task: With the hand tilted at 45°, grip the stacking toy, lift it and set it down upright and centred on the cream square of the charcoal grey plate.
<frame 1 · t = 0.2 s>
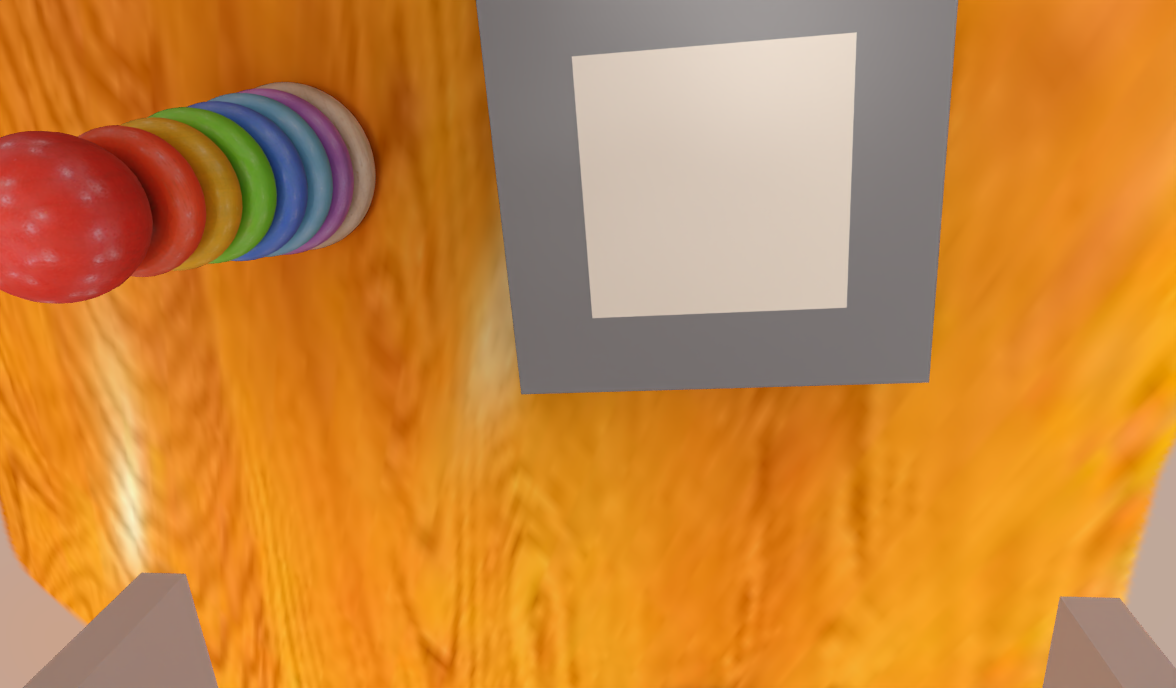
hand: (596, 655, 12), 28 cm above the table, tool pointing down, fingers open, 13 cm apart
stacking toy: (306, 165, 39), on the table
plate: (712, 181, 36), on the table
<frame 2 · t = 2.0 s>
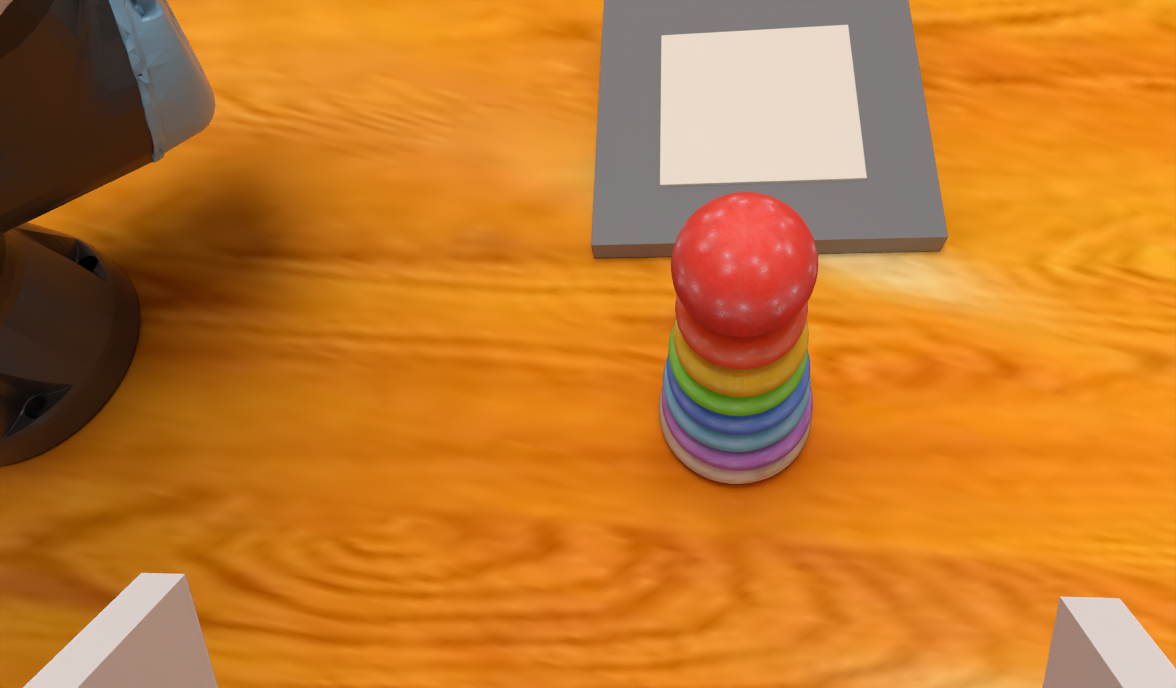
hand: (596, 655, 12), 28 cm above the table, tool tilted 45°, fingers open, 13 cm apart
stacking toy: (732, 416, 42), on the table
plate: (755, 120, 50), on the table
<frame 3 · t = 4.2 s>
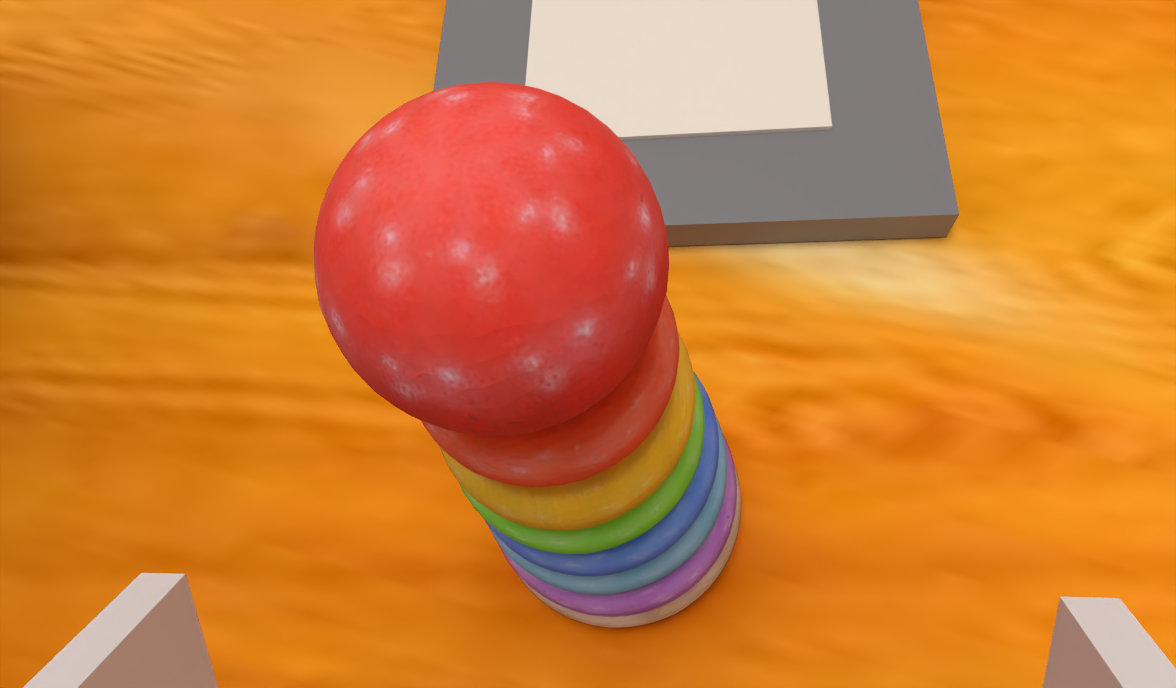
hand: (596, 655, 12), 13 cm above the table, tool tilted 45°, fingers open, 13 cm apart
stacking toy: (619, 505, 26), on the table
plate: (671, 49, 34), on the table
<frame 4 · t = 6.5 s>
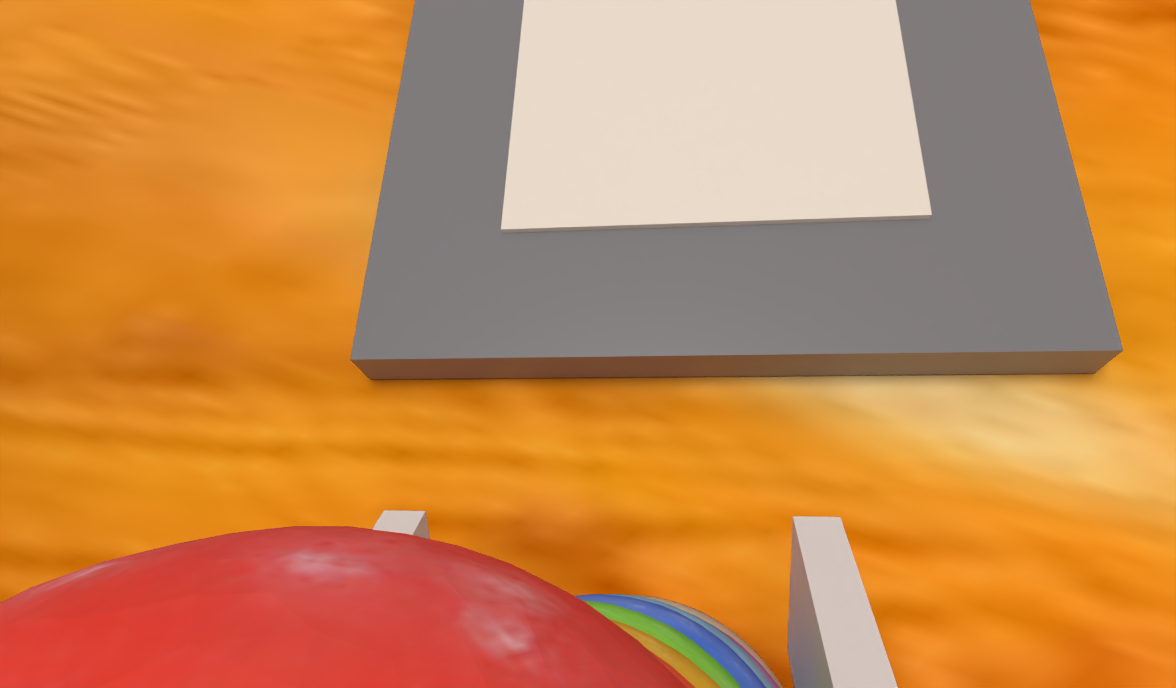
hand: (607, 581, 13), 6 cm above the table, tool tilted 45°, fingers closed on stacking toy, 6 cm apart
plate: (703, 98, 26), on the table
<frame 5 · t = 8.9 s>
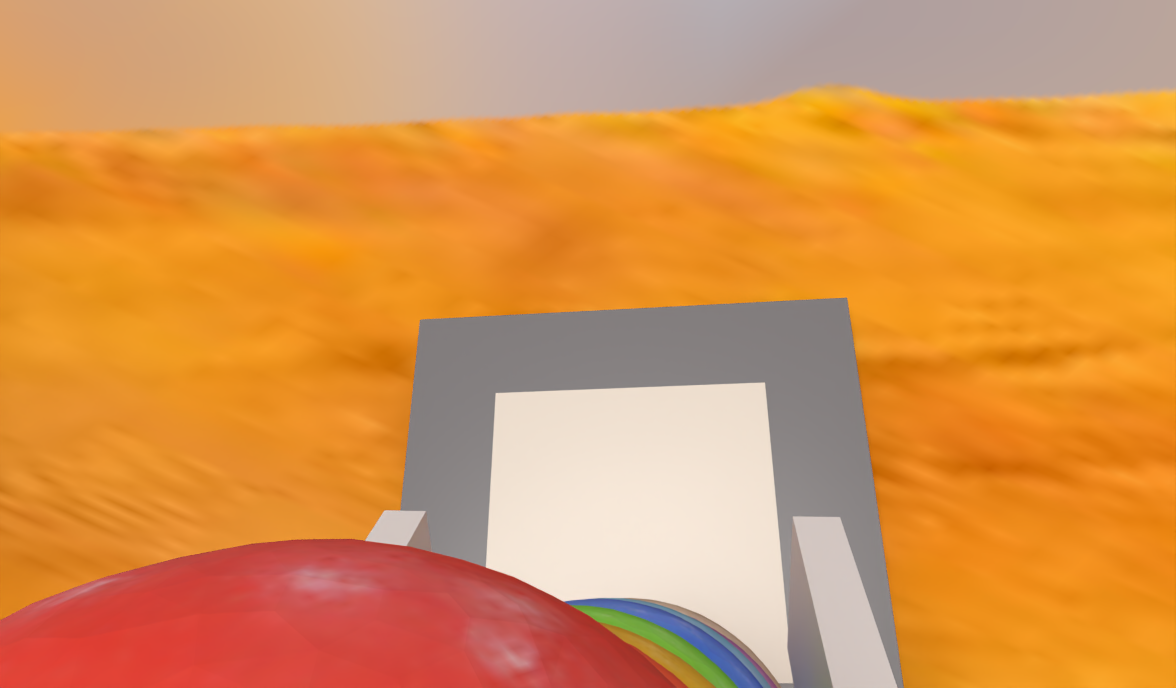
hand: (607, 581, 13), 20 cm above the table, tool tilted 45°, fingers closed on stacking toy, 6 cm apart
plate: (632, 531, 33), on the table
when the fingers open (9 cm above the table, at t = 11.8 s): stacking toy drops 1 cm, resting on plate.
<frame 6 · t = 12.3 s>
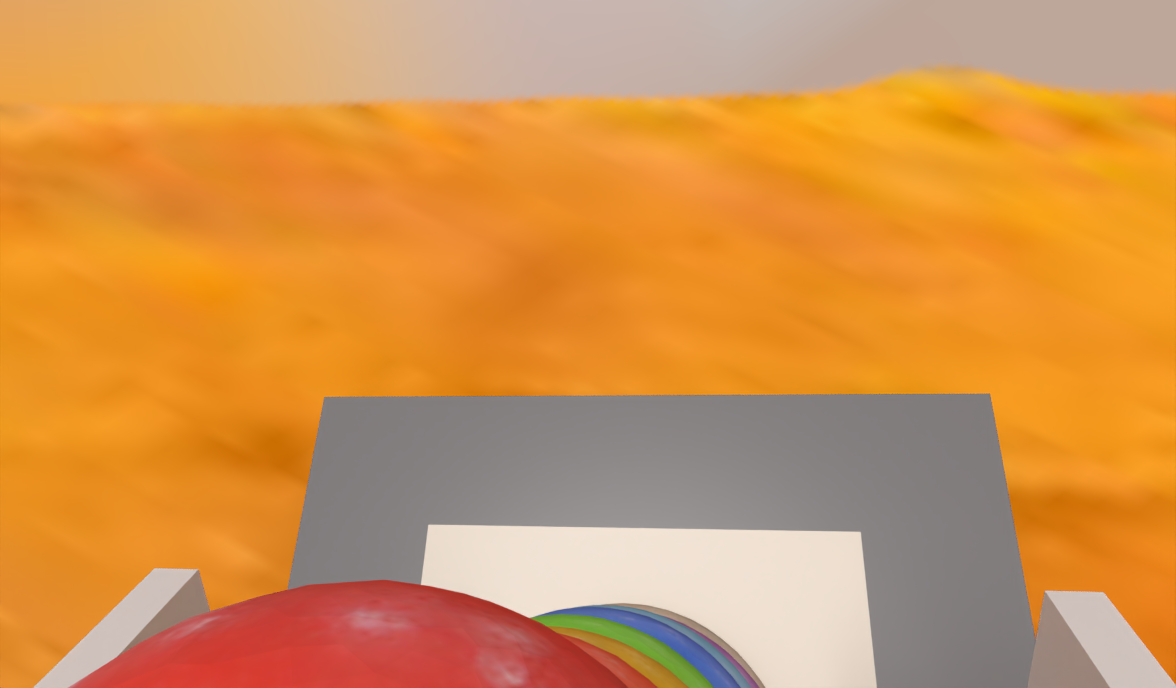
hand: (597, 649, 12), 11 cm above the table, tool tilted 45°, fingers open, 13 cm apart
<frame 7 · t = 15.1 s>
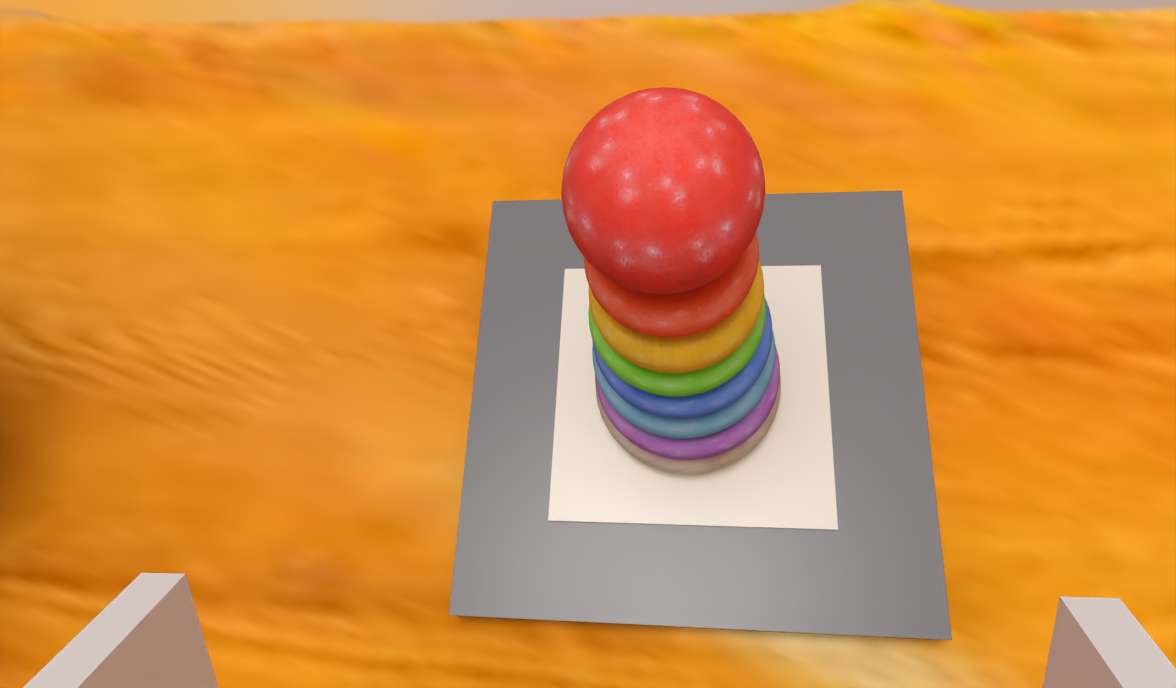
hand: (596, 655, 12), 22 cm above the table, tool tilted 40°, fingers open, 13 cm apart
stacking toy: (686, 391, 35), point 1 cm above the table, touching plate
plate: (689, 399, 36), on the table
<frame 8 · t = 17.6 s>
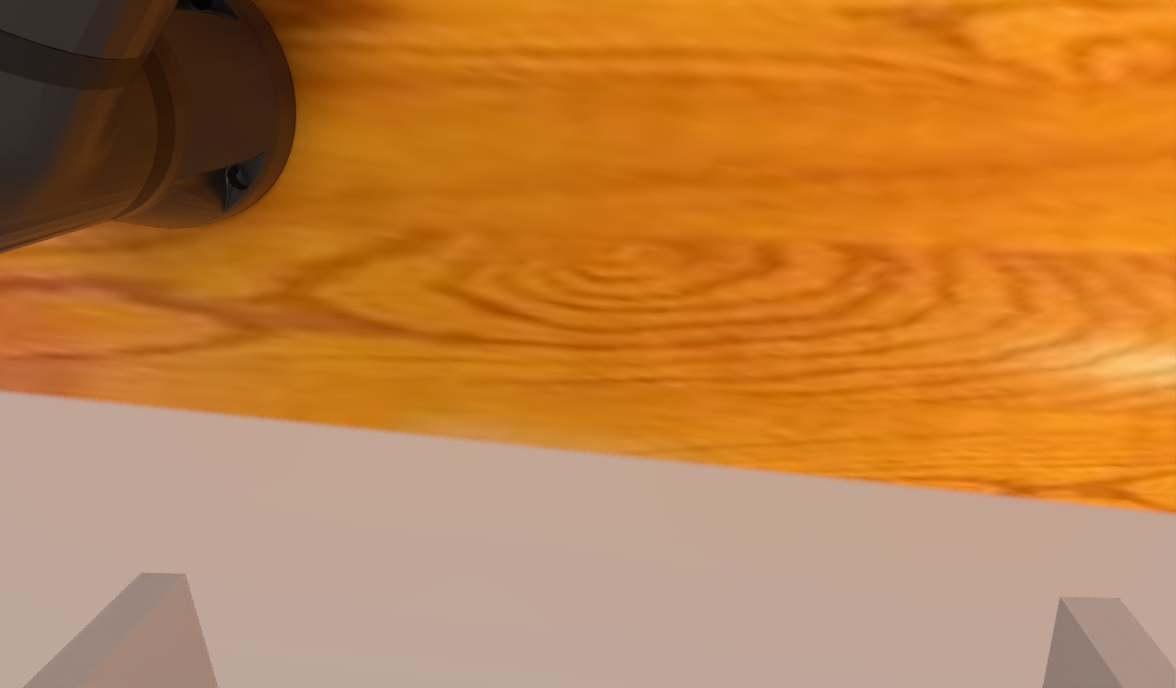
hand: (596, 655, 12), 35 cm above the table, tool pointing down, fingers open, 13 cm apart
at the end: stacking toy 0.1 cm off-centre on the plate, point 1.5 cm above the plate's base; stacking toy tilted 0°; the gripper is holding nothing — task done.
